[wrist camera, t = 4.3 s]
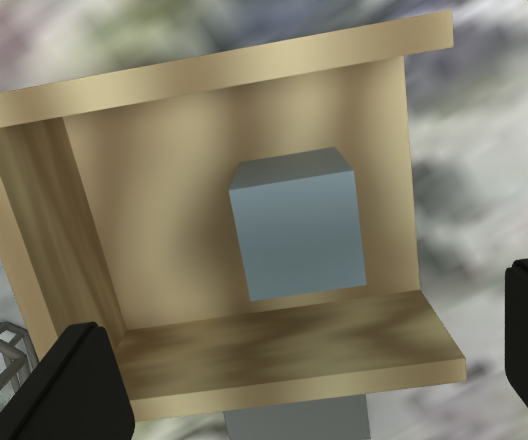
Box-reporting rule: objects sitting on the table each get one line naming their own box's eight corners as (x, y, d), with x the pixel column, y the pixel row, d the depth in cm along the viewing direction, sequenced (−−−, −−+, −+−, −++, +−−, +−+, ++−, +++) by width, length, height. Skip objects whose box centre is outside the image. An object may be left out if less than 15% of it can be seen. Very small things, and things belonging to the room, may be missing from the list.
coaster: (354, 311, 27) (355, 316, 26) (368, 431, 29) (370, 438, 29) (206, 331, 27) (205, 336, 27) (234, 447, 30) (233, 454, 30)
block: (334, 146, 23) (353, 170, 18) (345, 236, 25) (366, 284, 19) (240, 162, 24) (228, 190, 18) (256, 249, 25) (250, 301, 19)
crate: (398, 29, 22) (451, 9, 15) (418, 303, 26) (466, 381, 20) (37, 95, 23) (-58, 103, 17) (115, 345, 28) (65, 430, 21)
